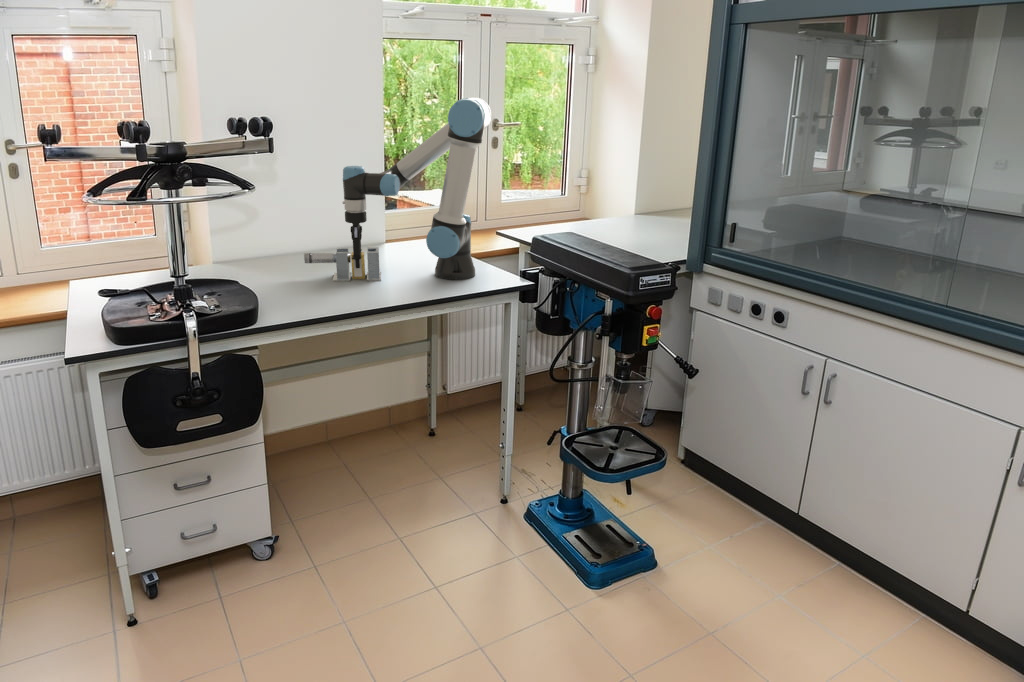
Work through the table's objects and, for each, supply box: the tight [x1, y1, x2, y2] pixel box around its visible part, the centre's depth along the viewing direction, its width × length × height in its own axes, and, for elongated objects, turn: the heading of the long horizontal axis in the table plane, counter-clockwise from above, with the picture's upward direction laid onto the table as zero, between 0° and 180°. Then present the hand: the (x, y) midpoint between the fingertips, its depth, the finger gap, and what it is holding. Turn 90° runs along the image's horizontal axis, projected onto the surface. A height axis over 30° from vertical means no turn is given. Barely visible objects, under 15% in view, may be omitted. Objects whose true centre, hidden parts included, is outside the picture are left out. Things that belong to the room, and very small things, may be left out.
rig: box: [332, 246, 382, 283], centre depth 268 cm, size 17×10×10 cm, turn 99°
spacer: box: [350, 251, 366, 280], centre depth 268 cm, size 4×4×9 cm
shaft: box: [303, 252, 352, 264], centre depth 266 cm, size 16×4×4 cm, turn 99°
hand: (358, 274), depth 270 cm, fingers closed on spacer, 4 cm apart
